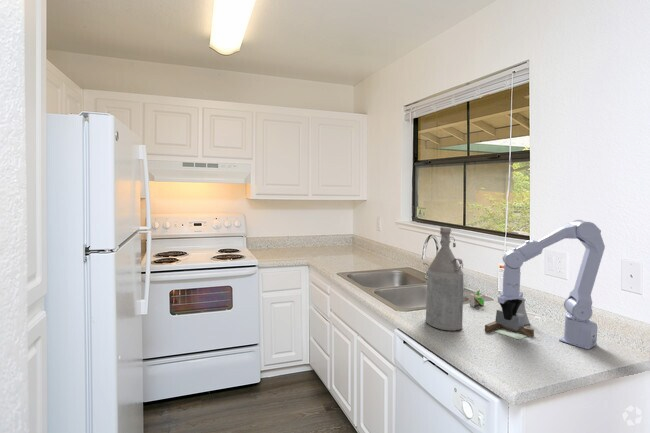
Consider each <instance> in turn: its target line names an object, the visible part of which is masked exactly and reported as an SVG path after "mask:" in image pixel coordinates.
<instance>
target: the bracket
mask: <svg viewBox="0 0 650 433" xmlns="http://www.w3.org/2000/svg"><path fill="white" fill-rule="evenodd" d="M525 316H526V315H523V314H521V313H517V314H514V313H512V316H511V320H506V319H504V315H503V311H502V308H498V309H496V315H495V322H496V323H499V324H501V325H504V326H506V327H509V328H511V329H514V330H516V331H518V330H520V329H522V328H524V327H525V325H524V323H525Z"/></svg>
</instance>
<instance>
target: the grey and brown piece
mask: <svg viewBox="0 0 650 433" xmlns="http://www.w3.org/2000/svg"><path fill="white" fill-rule="evenodd" d="M501 328H502V329H506V330H508V331H509V330H510V331H512V332H515V333H519V334H523V335H526V336H527V337H530V338H532V337H534V336H535V329H534V328H530V327H526V326H524V328H522V329H520V330H518V331H516V330H514V329H511V328H509V327H506V326H504V325H501V324H499V323H496V322H495V321H492V322H489V323H486V324H484V332H486V333H492V332H494V331H497V330H500V329H501Z"/></svg>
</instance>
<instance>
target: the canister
mask: <svg viewBox="0 0 650 433" xmlns="http://www.w3.org/2000/svg"><path fill="white" fill-rule="evenodd" d="M439 229H440V230H439V235H440V236H441V237H440V240H439V244H440V245H441V247H440V249H439V250H438V252H437V253H436V255H435V257H434V259H432V262H431V264H430V265H429V267H427V278H426V279H427V281H426V282H427V283H426V300H425V301H426V303H425V304H426V305H425V322H426V324H428V325H429V326H431V327H433V328H435V329H439V330H442V331H458V330H462V329H463V320H464V319H463V315H464V314H463V313H464V312H463V309H464V307H463V306H464V304H463V303H464V271H463V270H462V269H463V268H464V263H463V259H461V258H456V257H455V255H454V253H453V252H452V250H451V248H450V244H451V243H452V248H456V246H457V245H456V242H455V241H456V239H455V237H453V236H450V234H451V233H453V231H452V227H448V226H441V227H440V228H439ZM450 238H451V239H453V242H452V241H451V239H450Z"/></svg>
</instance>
